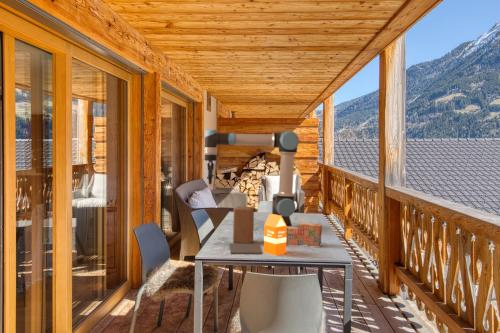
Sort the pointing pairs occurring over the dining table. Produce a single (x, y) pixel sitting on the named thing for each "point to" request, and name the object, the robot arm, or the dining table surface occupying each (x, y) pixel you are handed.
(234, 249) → the mat
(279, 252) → the orange juice
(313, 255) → the dining table surface
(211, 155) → the robot arm
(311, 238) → the stack of blocks
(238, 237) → the wooden block
